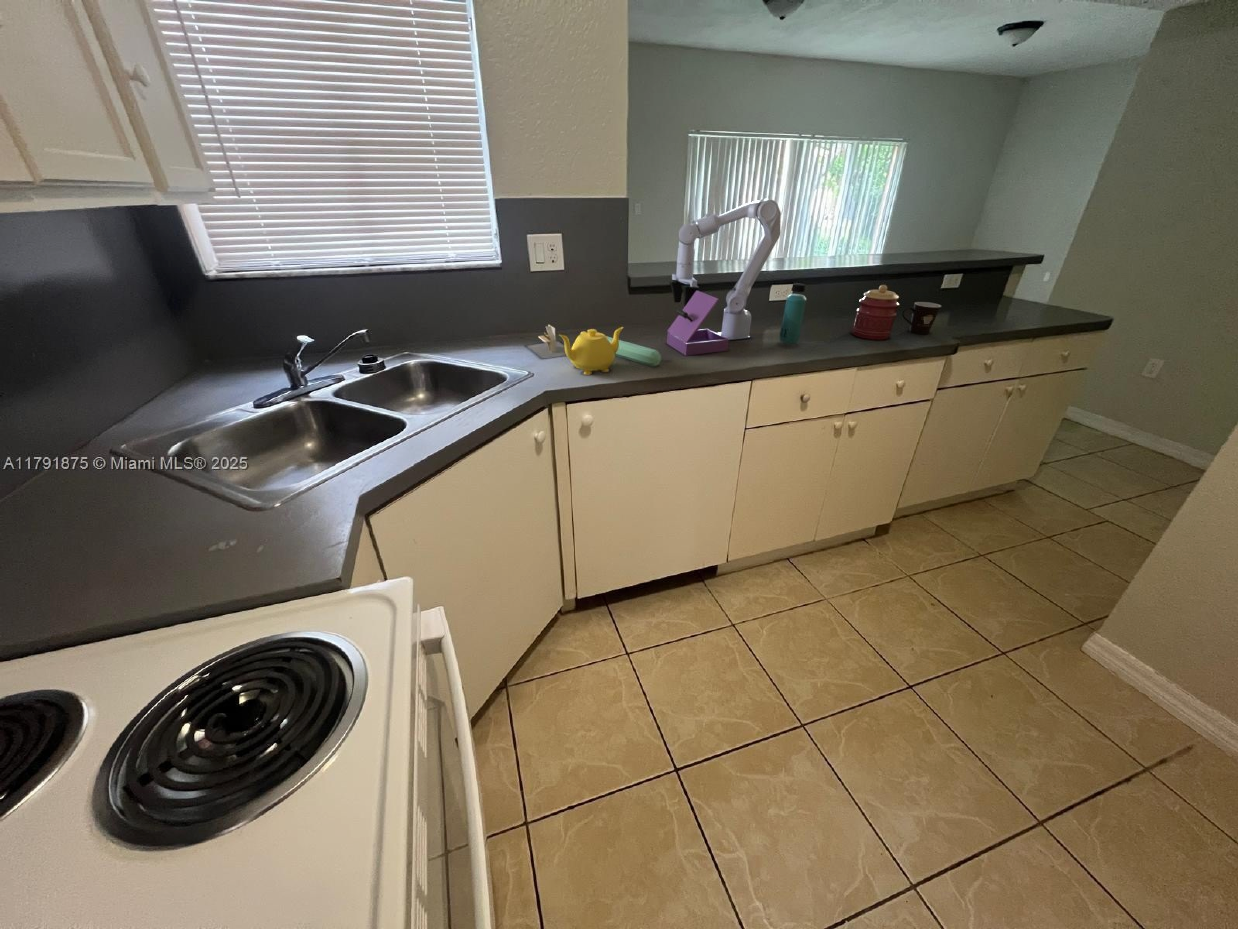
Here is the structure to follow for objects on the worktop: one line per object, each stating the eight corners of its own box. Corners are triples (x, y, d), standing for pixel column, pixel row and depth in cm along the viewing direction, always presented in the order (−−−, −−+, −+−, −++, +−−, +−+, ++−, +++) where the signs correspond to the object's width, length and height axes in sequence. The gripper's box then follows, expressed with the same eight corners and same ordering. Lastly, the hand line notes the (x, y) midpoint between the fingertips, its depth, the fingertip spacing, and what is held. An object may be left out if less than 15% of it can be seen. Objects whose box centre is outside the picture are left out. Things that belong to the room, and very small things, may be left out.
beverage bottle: (800, 345, 167) (813, 283, 156) (792, 349, 162) (804, 286, 152) (783, 341, 170) (794, 281, 160) (774, 344, 166) (785, 283, 156)
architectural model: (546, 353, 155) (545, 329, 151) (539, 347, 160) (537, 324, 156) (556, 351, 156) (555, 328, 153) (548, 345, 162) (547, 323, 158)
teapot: (610, 356, 153) (611, 319, 147) (632, 370, 142) (634, 331, 136) (550, 364, 145) (548, 326, 140) (569, 381, 134) (567, 340, 128)
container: (662, 345, 143) (599, 328, 156) (651, 357, 140) (587, 339, 154) (665, 361, 147) (603, 343, 161) (654, 373, 145) (592, 354, 158)
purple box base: (706, 339, 171) (707, 328, 169) (727, 350, 160) (729, 339, 158) (666, 343, 166) (667, 332, 164) (685, 355, 155) (686, 343, 153)
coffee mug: (932, 330, 185) (941, 303, 179) (931, 336, 178) (940, 308, 173) (898, 326, 190) (906, 299, 185) (896, 331, 184) (904, 304, 178)
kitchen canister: (896, 336, 177) (912, 286, 168) (876, 342, 170) (891, 290, 161) (864, 328, 186) (877, 280, 177) (843, 333, 180) (856, 283, 171)
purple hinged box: (697, 291, 161) (688, 282, 158) (719, 299, 150) (709, 290, 147) (668, 331, 164) (658, 324, 161) (687, 343, 153) (677, 334, 150)
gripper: (665, 260, 169) (663, 300, 175) (685, 267, 157) (681, 309, 164) (683, 259, 171) (680, 299, 178) (704, 266, 159) (700, 308, 166)
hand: (682, 304), depth 171 cm, fingers open, 7 cm apart
